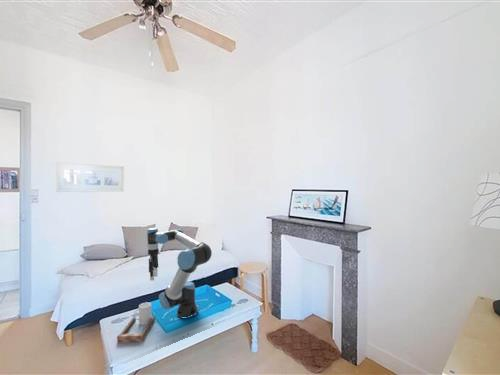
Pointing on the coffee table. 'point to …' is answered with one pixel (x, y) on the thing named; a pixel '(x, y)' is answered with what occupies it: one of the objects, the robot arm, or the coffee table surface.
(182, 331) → the coffee table surface
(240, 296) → the coffee table surface
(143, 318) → the mug
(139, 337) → the guide
